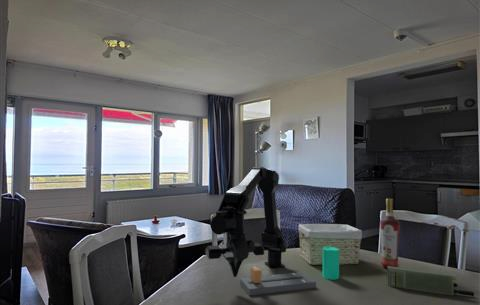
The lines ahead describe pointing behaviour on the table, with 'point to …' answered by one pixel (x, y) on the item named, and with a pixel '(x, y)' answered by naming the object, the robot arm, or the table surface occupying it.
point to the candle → (330, 263)
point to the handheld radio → (424, 281)
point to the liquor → (389, 237)
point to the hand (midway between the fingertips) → (234, 276)
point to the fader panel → (278, 283)
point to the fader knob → (255, 274)
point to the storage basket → (329, 242)
